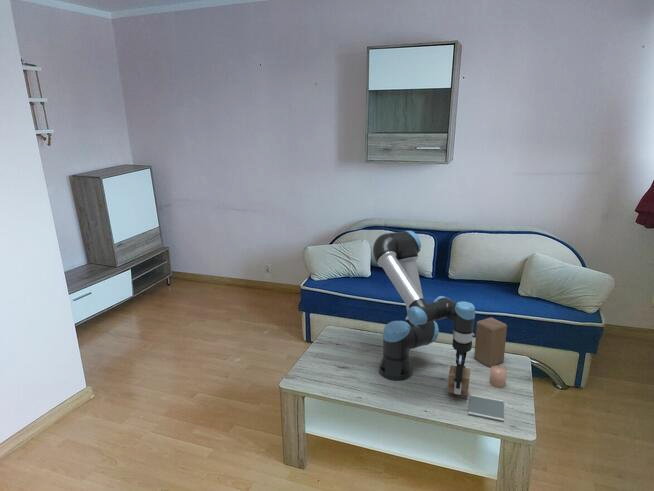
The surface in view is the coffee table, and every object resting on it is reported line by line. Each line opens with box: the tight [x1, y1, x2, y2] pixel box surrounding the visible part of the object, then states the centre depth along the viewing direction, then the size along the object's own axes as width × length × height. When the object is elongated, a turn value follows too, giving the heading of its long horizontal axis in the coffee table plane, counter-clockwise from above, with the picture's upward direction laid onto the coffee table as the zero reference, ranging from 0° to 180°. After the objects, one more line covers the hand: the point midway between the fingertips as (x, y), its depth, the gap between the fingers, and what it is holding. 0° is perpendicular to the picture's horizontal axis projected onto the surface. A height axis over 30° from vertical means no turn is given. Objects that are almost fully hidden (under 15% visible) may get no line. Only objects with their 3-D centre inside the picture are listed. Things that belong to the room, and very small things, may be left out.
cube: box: [446, 364, 471, 397], centre depth 182 cm, size 8×8×8 cm
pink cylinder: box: [489, 365, 507, 389], centre depth 190 cm, size 6×6×7 cm
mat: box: [467, 394, 505, 423], centre depth 174 cm, size 13×13×1 cm
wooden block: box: [473, 317, 508, 368], centre depth 206 cm, size 10×10×20 cm
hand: (458, 387), depth 183 cm, fingers closed on cube, 8 cm apart
